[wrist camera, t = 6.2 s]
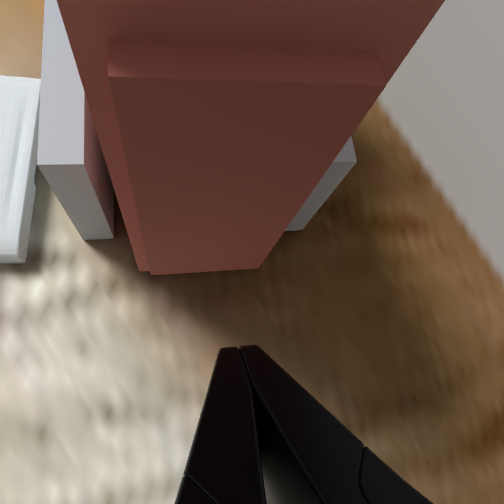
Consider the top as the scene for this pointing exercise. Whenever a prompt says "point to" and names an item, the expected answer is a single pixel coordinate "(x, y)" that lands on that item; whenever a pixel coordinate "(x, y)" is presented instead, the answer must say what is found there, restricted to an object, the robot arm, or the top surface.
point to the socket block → (89, 149)
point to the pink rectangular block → (229, 111)
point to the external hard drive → (17, 163)
